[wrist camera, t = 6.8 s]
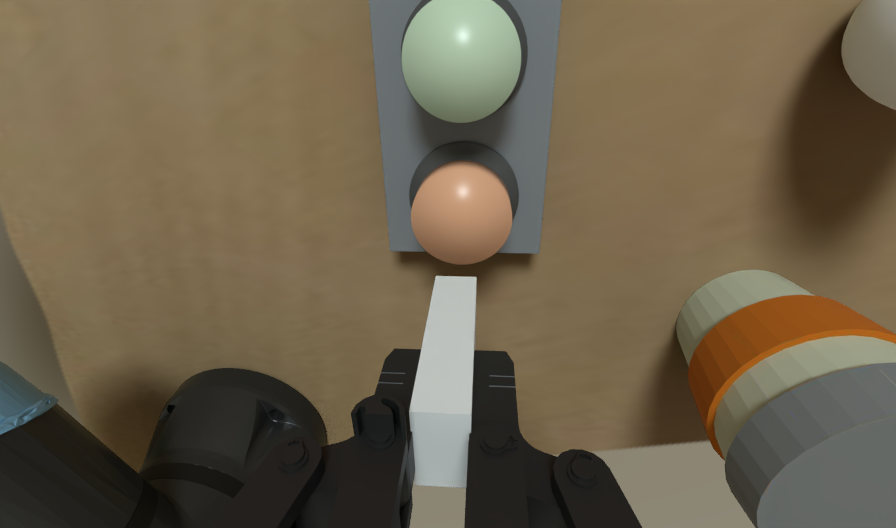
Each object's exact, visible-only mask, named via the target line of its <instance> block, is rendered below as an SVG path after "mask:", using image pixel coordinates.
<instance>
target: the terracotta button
mask: <svg viewBox="0 0 896 528" xmlns="http://www.w3.org/2000/svg"><path fill="white" fill-rule="evenodd" d="M411 224H412V229H413V232H414V234H415V237H416V238H417V240H418V242H419V243H420V245H421V246H422V247H423V248H424V249H425V250H426V251H427V252H428V253H429V254H431V255H432V256H434V257H435V258H437V259H439V260H441V261H444V262H447V263H451V264H459V265H466V264H474V263H477V262H481V261H483V260H485V259H487V258H489V257H491V256H492V255H494V254H495V253H496V252H497V251H498V250H499V249H500V248H501V247H502V246H503V245H504V243H505V242H506V240H507V238H508V236H509V234H510V231H511V227H512V210H511V203H510V197H509V193H508V190H507V188H506V185H505V184H504V182H503V181H502V179H501V178H500V177H499V176H498V174H497V173H495V172H494V171H493V170H492V169H490V168H489V167H487V166H485V165H483V164H481V163H478V162H475V161H470V160H456V161H450V162H447V163H444V164H442V165H440V166H438V167H436V168H435V169H433V170H432V171H431V172H430V173H429V174H428V175H427V176H426V177H425V178H424V180H423V181H422V183H421V184H420V187H419V189H418V191H417V194H416V196H415V199H414V202H413V205H412V209H411Z"/></svg>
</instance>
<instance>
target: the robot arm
mask: <svg viewBox="0 0 896 528" xmlns="http://www.w3.org/2000/svg"><path fill="white" fill-rule="evenodd" d="M476 285H477V277H460V276H436V278H435V283H434V288H433V293H432V298H431V303H430V308H429V313H428V318H427V323H426V329H425V334H424V339H423V344H422V349H421V350H420V349H394V350H393V351H392V352H391V353H390V354H389V355H388V357H387V358H386V359H385V361H384V365H383V368H382V373H381V375H380V378H379V383H378V385H377V388H376V391H375V395H373V396H370V397H368V398H365V399H363V400H362V401H360V402H359V403H358V404H357V405H355V407H354V409H353V410H352V412H351V417H352V423H353V429H354V435H355V436H353V437H351V438H349V439H348V440H345V441H342V442H339V443H336V444H331V445H327V446H326V431H325V427H324V424H323V422H322V420H321V418H320V416H319V414H318V413H317V411H316V410H315V408H314V407H313V406H312V405H311V404H310V403H309V401H307V400H306V399H305V398H304V397H303V396H302V395H301V394H300V393H298V392H297V391H296V390H294V389H293V388H291V387H290V386H288V385H286V384H285V383H283V382H281V381H279V380H277V379H275V378H272V377H270V376H267V375H264V374H261V373H258V372H254V371H250V370H244V369H235V368H221V369H213V370H208V371H204V372H201V373H198V374H196V375H194V376H192V377H191V378H189V379H188V380H186V381H185V382H184V383H183V384H182V385H181V386H180V387H179V388H178V390H177V391H176V392H175V393H174V394H173V396H172V397H171V398H170V399H169V401H168V402H167V403H166V405H165V407H164V408H163V410H162V412H161V415H160V418H159V421H158V424H157V426H156V429H155V432H154V434H153V437H152V440H151V443H150V446H149V448H148V451H147V454H146V457H145V460H144V463H143V465H142V468H141V470H140V471H139V473H137V472H136V471H135V470H133V469H132V468H131V467H130V466H129V465H128V464H126V463H125V462H124V461H123V460H122V459H121V458H119V457H118V456H117V455H116V454H115V453H114V452H113V451H111V450H110V449H109V448H108V447H107V446H106V445H104V444H103V443H102V442H101V441H100V440H99V439H97V438H96V437H95V436H94V435H93V434H92V433H91V432H89V431H88V430H87V429H86V428H85V427H84V426H82V425H81V424H80V423H79V422H78V421H76V420H75V419H74V418H73V417H72V416H71V415H70V414H68V413H67V412H66V411H65V410H64V409H63V408H62V407H60V406H59V405H58V404H57V402H58V399H57V398H55V397H54V396H53V395H50V394H47V393H43V392H42V391H41V390H39V389H38V388H37V387H35V386H34V385H33V384H31V383H30V382H29V381H27V380H26V379H25V378H24V377H22V376H21V375H20V374H18V373H17V372H16V371H14V370H13V369H12V368H10V367H9V366H8V365H6V364H4V363H3V362H0V528H409V526H410V519H411V512H412V487H413V480H414V481H415V485H423V486H440V487H457V488H466V507H465V528H642V526H641V525H640V523H639V521H638V519H637V517H636V516H635V514H634V512H633V510H632V508H631V506H630V505H629V503H628V501H627V499H626V498H625V496H624V494H623V492H622V490H621V488H620V486H619V485H618V483H617V481H616V479H615V478H614V476H613V474H612V472H611V470H610V468H609V467H608V466H607V465H606V464H605V462H604V461H603V460H602V459H601V458H599V457H597V456H596V455H595V454H593V453H591V452H588V451H585V450H576V449H571V450H568V451H565V452H562V453H561V454H560V455H559V456H558V457H556V456H553V455H550V454H547V453H544V452H542V451H539V450H537V449H535V448H534V447H532V446H531V445H530V444H528V443H527V442H526V440H525V439H524V438H523V437H522V435H521V433H520V430H519V426H518V413H517V401H516V388H515V378H514V376H515V375H514V363H513V361H512V360H511V358H510V357H509V355H508V354H507V352H505V351H477V350H475V342H476Z"/></svg>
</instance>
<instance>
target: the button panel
mask: <svg viewBox="0 0 896 528" xmlns="http://www.w3.org/2000/svg"><path fill="white" fill-rule="evenodd" d="M430 1H432V0H369V8H370V19H371V31H372V43H373V55H374V66H375V78H376V90H377V101H378V113H379V125H380V137H381V148H382V160H383V172H384V184H385V195H386V207H387V219H388V231H389V242H390V251H415V252H427V251H426V250H425V249H424V248H423V247H422V246H421V245H420V243H419V242H418V240H417V238H416V237H415V234H414V232H413V229H412V224H411V209H412V205H413V202H414V199H415V196H416V194H417V191H418V189H419V187H420V184H421V183H422V181H423V180H424V178H425V177H426V176H427V175H428V174H429V173H430V172H431V171H432V170H433V169H435V168H436V167H438V166H440V165H442V164H444V163H447V162H450V161H456V160H470V161H475V162H478V163H481V164H483V165H485V166H487V167H489V168H490V169H492V170H493V171H494V172H495V173H497V174H498V176H499V177H500V178H501V179H502V181H503V182H504V184H505V185H506V188H507V190H508V193H509V197H510V203H511V210H512V227H511V231H510V234H509V236H508V238H507V240H506V242H505V243H504V245H503V246H502V247H501V248H500V249H499V250H498V251H497V252H496V253H536V254H539V249H540V238H541V227H542V216H543V204H544V193H545V182H546V171H547V160H548V148H549V137H550V126H551V115H552V103H553V92H554V81H555V70H556V59H557V47H558V36H559V25H560V14H561V3H562V0H492V1H494V2H495V3H496V4H497V5H499V6H500V7H501V8H502V9H503V10H504V11H505V12H506V14H507V15H508V16H509V18H510V19H511V21H512V23H513V24H514V26H515V29H516V31H517V34H518V37H519V41H520V47H521V67H520V72H519V76H518V79H517V82H516V85H515V87H514V89H513V91H512V93H511V94H510V96H509V97H508V99H507V100H506V101H505V102H504V103H503V105H502V106H500V107H499V108H498V109H497V110H496V111H495V112H493V113H492V114H490V115H488V116H486V117H485V118H482V119H480V120H477V121H473V122H467V123H454V122H449V121H445V120H442V119H439V118H437V117H435V116H433V115H432V114H430V113H429V112H427V111H426V110H425V109H424V108H423V107H421V106H420V105H419V103H418V102H417V101H416V100H415V98H414V97H413V96H412V94H411V92H410V90H409V88H408V86H407V84H406V81H405V78H404V74H403V70H402V46H403V41H404V37H405V34H406V32H407V29H408V27H409V25H410V23H411V21H412V20H413V18H414V17H415V16H416V14H417V13H418V12H419V11H420V10H421V9H422V8H423V7H424V6H425V5H426V4H427V3H429V2H430Z"/></svg>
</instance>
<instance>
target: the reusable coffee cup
mask: <svg viewBox="0 0 896 528" xmlns="http://www.w3.org/2000/svg"><path fill="white" fill-rule="evenodd" d="M676 332H677V338H678V341H679V343H680V346H681V348H682V351H683V353H684V356H685V359H686V361H687V364H688V366H689V370H688V380H689V386H690V389H691V392H692V394H693V397H694V400H695V403H696V405H697V408H698V411H699V413H700V416H701V419H702V422H703V424H704V427H705V430H706V432H707V435H708V437H709V440H710V442H711V444H712V446H713V448H714V450H715V451H716V452H717V453H718V454H719V455H720V457H721V458H722V459H724V460H725V473H726V480H727V483H728V485H729V487H730V489H731V492H732V493H733V495H734V496H735V498H736V499H737V500H738V502H739V504H740V505H741V506H742V508H743V510H744V511H745V512H746V514H747V516H748V517H749V518H750V520H751V521H752V523H753V524H754V526H755V527H756V528H896V334H894V333H892V332H891V331H889V330H887V329H885V328H884V327H882V326H880V325H878V324H877V323H875V322H873V321H871V320H870V319H868V318H866V317H864V316H863V315H861V314H859V313H857V312H856V311H854V310H852V309H850V308H849V307H847V306H845V305H843V304H841V303H839V302H837V301H835V300H832V299H828V298H824V297H821V296H814V295H813V294H811V293H809V292H808V291H806V290H804V289H803V288H801V287H799V286H797V285H796V284H794V283H792V282H791V281H789V280H787V279H786V278H784V277H782V276H780V275H778V274H776V273H772V272H768V271H763V270H743V271H737V272H733V273H728V274H726V275H723V276H720V277H718V278H715V279H714V280H712V281H710V282H708V283H707V284H705V285H703V286H702V287H701V288H699V289H698V290H697V291H696V292H694V293H693V295H692V296H691V297H690V298H689V299H688V300H687V301H686V303H685V304H684V306H683V307H682V309H681V311H680V313H679V316H678V319H677V325H676Z"/></svg>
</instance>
